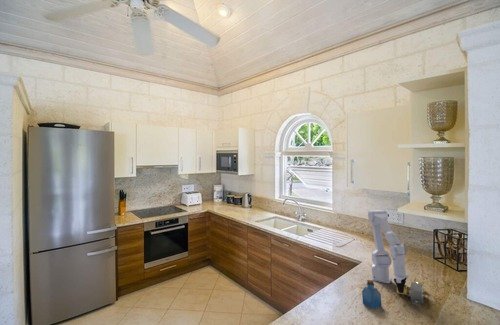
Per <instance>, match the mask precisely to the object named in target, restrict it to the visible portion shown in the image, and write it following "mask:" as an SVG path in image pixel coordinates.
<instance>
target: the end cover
mask: <svg viewBox="0 0 500 325" xmlns="http://www.w3.org/2000/svg"><path fill="white" fill-rule="evenodd" d="M410 287H411V286H408V284H405V285H404V292H403V293H399V292H398V289H397V288H396V293H397V294H399V295H404V296H411V295H410Z"/></svg>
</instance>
